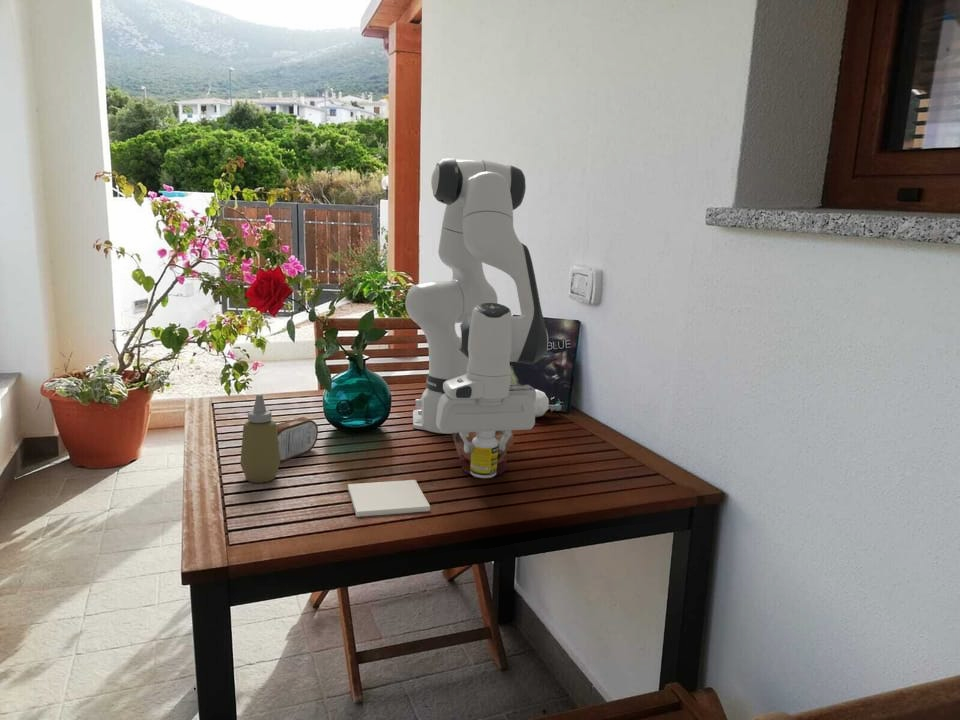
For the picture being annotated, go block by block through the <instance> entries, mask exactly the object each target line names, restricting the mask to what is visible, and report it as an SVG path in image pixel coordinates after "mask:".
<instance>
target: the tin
mask: <svg viewBox="0 0 960 720" xmlns="http://www.w3.org/2000/svg"><path fill="white" fill-rule="evenodd" d="M276 426H277V435H278V443H279V451H280V463H281V462H285V461H288V460H291V459H294V458H296V457H299V456H302V455H306V454H307V453H309V452H311V450H313V448H314V447H315V445H316V444H317V440H318V435H319V427H318V424H317V423H316V422H315V421H314V420H312V419H309V418H307V417H305V416H302V417H298V418H295V419H291V420H287V421H284V422H281V423H278V424H277V423H276Z"/></svg>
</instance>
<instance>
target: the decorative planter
mask: <svg viewBox="0 0 960 720" xmlns="http://www.w3.org/2000/svg"><path fill="white" fill-rule="evenodd" d="M503 434H504V433H503V432H502V431H495V437H494V438H496V439H497V441H500V439H501V437H502V436H503ZM451 436H452V440H453V442H454V445H455V448H456V453H457V456H458V459H459V461H460V466H461V468H462V470H463V471H464V472H466V473H468V474H470V475H472V474H471V472H470V468H471V452H470V453H465V451H464V442H463V440H462V438H461V436H460V435H459V433H452V434H451ZM514 436H515V435H514V433H513V431H512V432H511V436H510V438H509V439H508V441H507V442H506V443H505V451H498V455H497V471H496V475H495V476H498V475H501V474H503V473H505V470H506V467H507V464H508V461H507V460H508V456H507V451H508V449H509V448H511V447H512V446H513V445H514V441H515V437H514ZM475 437H477V436H476V432H469V437H466V439H467V441H468V442H472V440H473V438H475Z"/></svg>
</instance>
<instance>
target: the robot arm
mask: <svg viewBox="0 0 960 720" xmlns="http://www.w3.org/2000/svg"><path fill="white" fill-rule="evenodd" d="M430 180H431V189H432V195H433V197H434V198H435V200H437V201H438V202H439V203H442V204H445V206H446V207H445V208H444V214H443V219H442V223H441V230H440V232H441V233H440V239H439V245H438V249H437V250H438V256H439V259H440V260H441V262H442V263H443V264H444V265H446V267H448V268H449V269H451V270H452V279H451V280H443V281H442V280H437V281H436V280H435V281H434V280H431V281H424V282H421V283H417V284H415V285H412V286H411V287H410V288H409V290H408V291H407V293H406V296H405V301H404V302H405V304H404V305H405V310H406V312H407V315H408V316H409V318H410V319H411V320H412V321H413V322H414V323H416V324H417V326H418V327H420V329H421V330H422V332H423V334H424V336H425V338H426V342H427V346H428V374H427V375H426V384H425V386H426V388H425V390H424V391H423V393H422V394H421V397H420V398H416V399H415V401H414V402H415V408H417V409H414V410H412V428H413V429H417V430H424V431H428V432H431V433H436V434H446V435H448V434H449V435H452V433H459V435H460V436H461V438H462V440H463V442H464V451H465V453H470V452H473V444H472V442H468V441H467V439H466V437H469V432H482V431H502V432H503V433H504V434H503V436H502V437H501V439H500V441H498V451H505V443H506V442H507V441H508V439H509V438H510V436H511V432H512V433H513V431H525V430H527V431H528V430H529V431H530V430H532V428H534V426H535V425H536V417H535V409H534V403H535V400H536V391H535V388H534V387H532V385H530V384H511V375H512V371H511V370H512V368H511V365H510V364H511V363H512V362H513V363H514V362H515V363H518V364H527V365H534V364H535V363H537V362H539V361H540V360H541V359H543V357H544V356H545V355H546V354H547V352H548V349H549V334H548V329H547V326H546V323H545V319H544V315H543V311H542V306H541V301H540V295H539V291H538V285H537V279H536V274H535V270H534V265H533V260H532V256H531V253H530V250H529V248H528V246H527V245H526V244H524V243H522V242H521V241H520V239H519V238H518V236H517V234H516V232H515V228H514V210H516V209H518V207H520V206H521V205H522V203H523V200H524V198H525V194H526V188H527V185H526V176H525V174H524V172H523V171H522V169H520V168H519V167H516V166H513V165H510V164H508V165H505V164H502V163H498V162H494V161H489V160H488V161H487V160H484V159H482V160H476V159H461V158H460V159H456V157H447V158H446V157H445V158H442V159H440V160H439V161H438V162H437V163H436V165H435V167H434V169H433V171H432V174H431V179H430ZM483 264H486V265H488V266H491V267H492V268H496V269H498V270H500V271H501V272H504V273H505V274H507V276H508V275H509V277H510V278H511V279H513V281H514V283H515V286H516V291H517V292H516V293H517V297H518V302H519V307H520V308H519V309H520V313H521V314H520V315H512V311H511V309H510V308H509V307H508V306H506V305H504V304H500V303H498V295H497V292H496V290H495V288H494V287H493V286H492V284H490V283H489V282H488V280H487V278H486V275H485V272H484V269H483ZM456 324H460V326H459V327H460V336H459V335H458V333H457V331H456Z"/></svg>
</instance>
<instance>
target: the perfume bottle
mask: <svg viewBox="0 0 960 720" xmlns="http://www.w3.org/2000/svg"><path fill="white" fill-rule="evenodd" d="M534 389H535V388H534ZM535 391H536V400H535V403H534V409H535V418H539V417H542V416H544V414H546V412H547V411H548V410H551V411H550V412H553V411H560V410H561V409H562V405H561V404H560V403H555V404H549V403H550V401H549V398H548V396H547V395H546V393H545V392H544V391H542V390H540V389H535Z"/></svg>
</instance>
